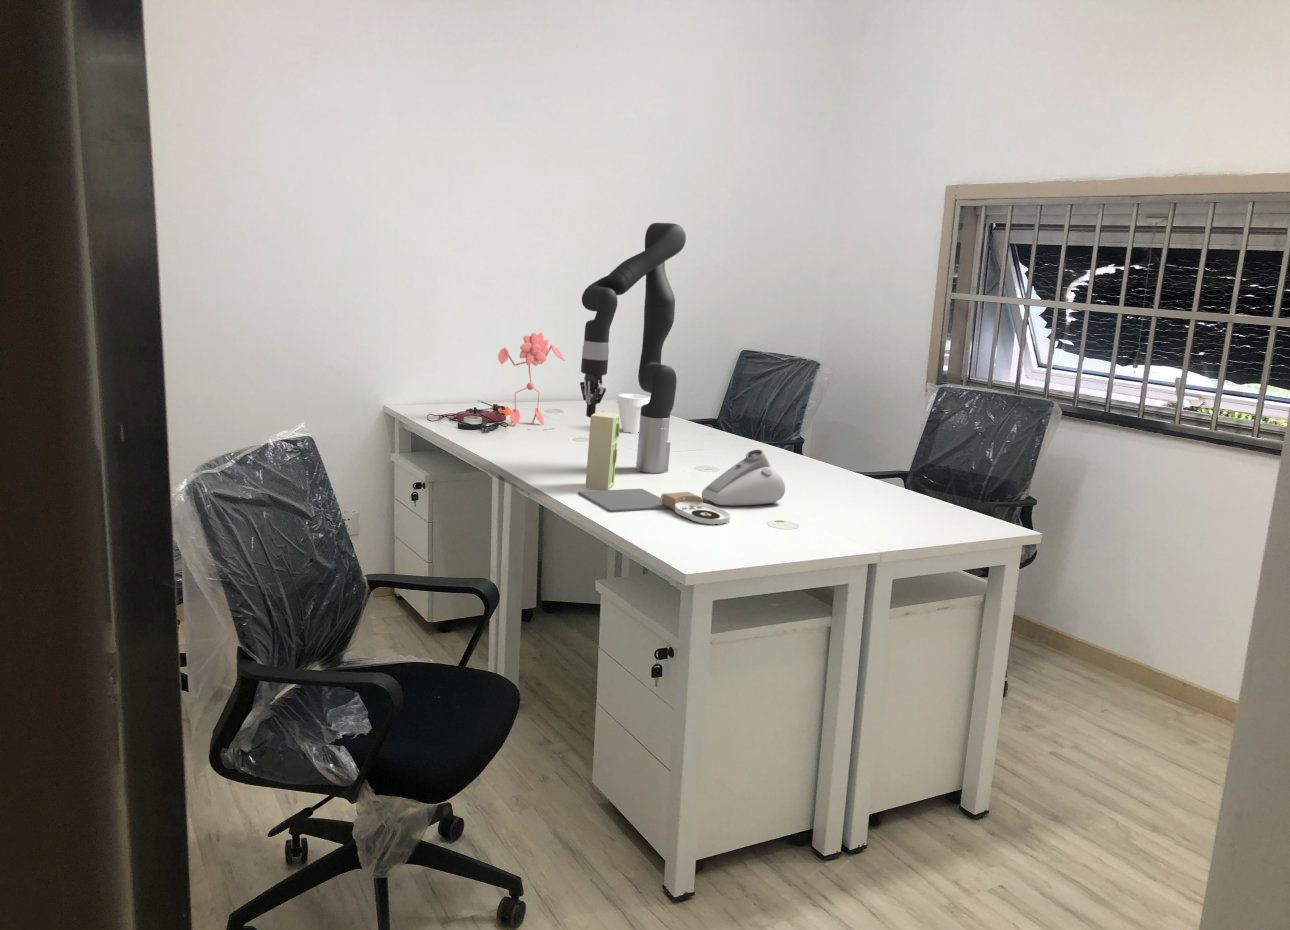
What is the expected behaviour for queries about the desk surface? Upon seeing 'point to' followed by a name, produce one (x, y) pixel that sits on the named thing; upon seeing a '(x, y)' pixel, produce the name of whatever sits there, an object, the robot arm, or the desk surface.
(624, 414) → the cup
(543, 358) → the figurine
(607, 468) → the toy refrigerator
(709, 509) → the record player
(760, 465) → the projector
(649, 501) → the mat
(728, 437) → the desk surface
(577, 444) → the desk surface
